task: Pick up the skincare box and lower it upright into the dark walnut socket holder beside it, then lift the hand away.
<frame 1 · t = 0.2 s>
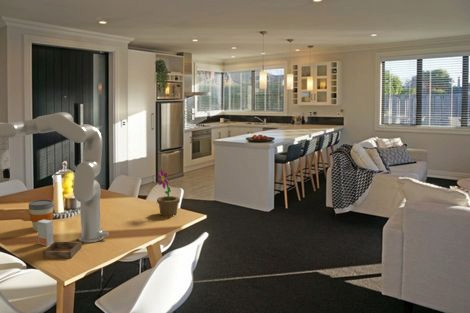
hand: (1, 180, 199), 31 cm above the table, tool pointing down, fingers open, 9 cm apart
skincare box: (46, 244, 196), on the table
reusable coffee cup: (42, 228, 219), on the table
socket: (63, 252, 185), on the table
flowerpot: (168, 214, 249), on the table
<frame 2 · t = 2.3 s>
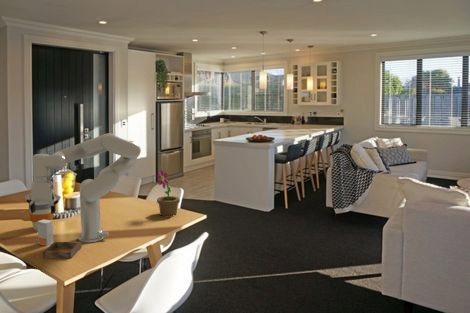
hand: (43, 212, 193), 16 cm above the table, tool pointing down, fingers open, 9 cm apart
nothing on the table moved.
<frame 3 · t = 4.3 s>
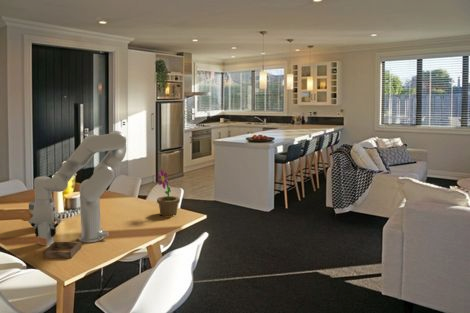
hand: (45, 235, 195), 4 cm above the table, tool pointing down, fingers closed on skincare box, 7 cm apart
skincare box: (46, 244, 196), on the table, touching gripper
everything else where it was.
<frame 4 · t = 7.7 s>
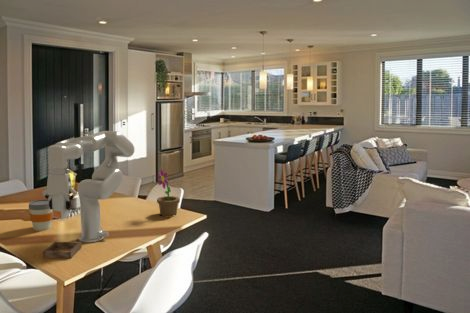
hand: (60, 208, 182), 22 cm above the table, tool pointing down, fingers closed on skincare box, 7 cm apart
skincare box: (60, 218, 183), point 17 cm above the table, touching gripper
everything else where it was.
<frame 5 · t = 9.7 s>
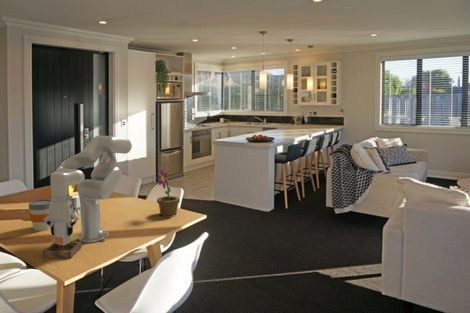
hand: (62, 234, 184), 9 cm above the table, tool pointing down, fingers closed on skincare box, 7 cm apart
skincare box: (62, 243, 185), point 4 cm above the table, touching gripper
everything else where it was.
when the fingers open (5 cm above the table, at t = 11.2 s): skincare box stays where it is, resting in socket.
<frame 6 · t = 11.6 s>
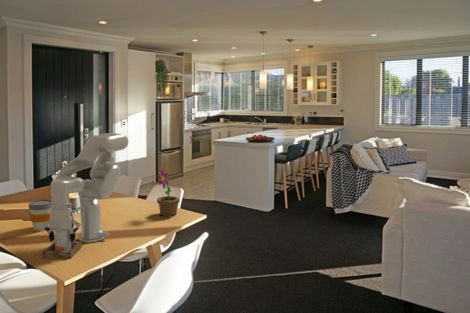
hand: (62, 240, 184), 6 cm above the table, tool pointing down, fingers open, 9 cm apart
skincare box: (63, 253, 186), resting in socket
everything else where it was.
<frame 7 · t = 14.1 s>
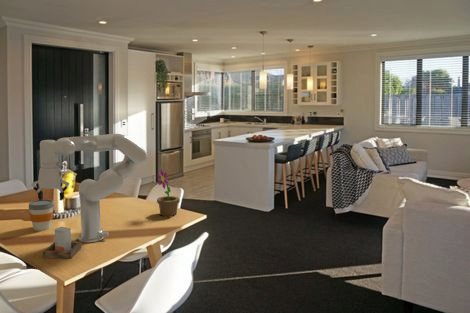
hand: (51, 199, 190), 23 cm above the table, tool pointing down, fingers open, 9 cm apart
nothing on the table moved.
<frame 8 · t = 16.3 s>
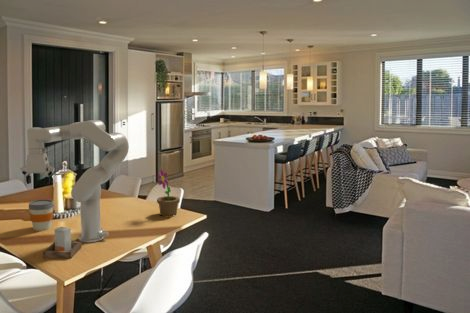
hand: (38, 183, 203), 28 cm above the table, tool pointing down, fingers open, 9 cm apart
nothing on the table moved.
at the end: skincare box 0.2 cm off-centre on the socket, point 0.0 cm above the socket's base; skincare box tilted 0°; the gripper is holding nothing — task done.
